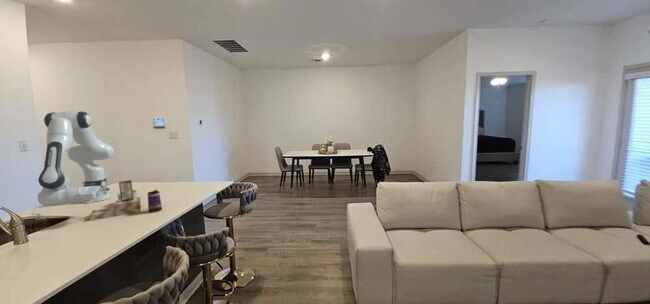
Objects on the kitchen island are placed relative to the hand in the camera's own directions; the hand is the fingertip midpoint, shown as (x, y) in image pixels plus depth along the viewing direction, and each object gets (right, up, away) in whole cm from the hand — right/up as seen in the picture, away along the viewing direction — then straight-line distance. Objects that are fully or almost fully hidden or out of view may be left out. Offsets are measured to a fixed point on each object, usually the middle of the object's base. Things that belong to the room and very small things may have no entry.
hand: (108, 190), depth 169 cm
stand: (+3, -14, +3) cm, 15 cm away
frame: (+8, -7, +6) cm, 12 cm away
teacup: (-4, -12, +25) cm, 28 cm away
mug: (+23, -13, +8) cm, 28 cm away
